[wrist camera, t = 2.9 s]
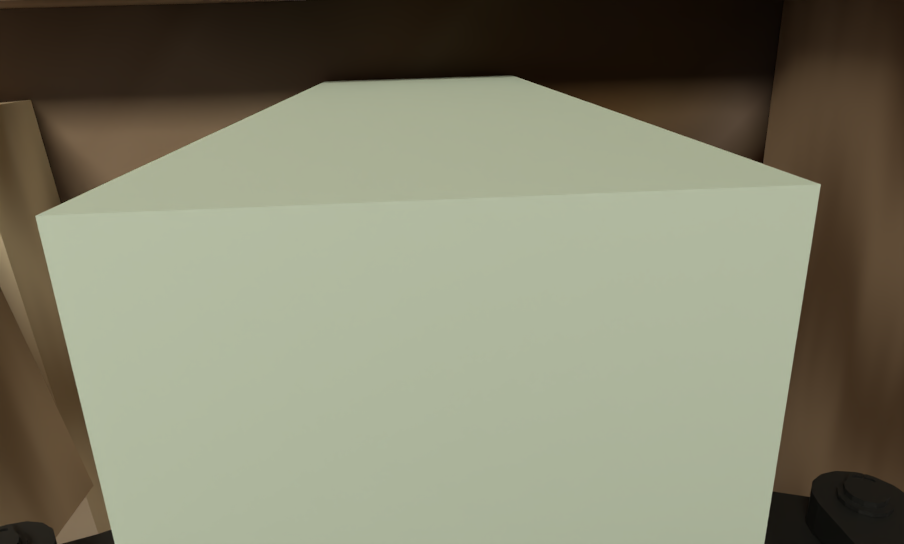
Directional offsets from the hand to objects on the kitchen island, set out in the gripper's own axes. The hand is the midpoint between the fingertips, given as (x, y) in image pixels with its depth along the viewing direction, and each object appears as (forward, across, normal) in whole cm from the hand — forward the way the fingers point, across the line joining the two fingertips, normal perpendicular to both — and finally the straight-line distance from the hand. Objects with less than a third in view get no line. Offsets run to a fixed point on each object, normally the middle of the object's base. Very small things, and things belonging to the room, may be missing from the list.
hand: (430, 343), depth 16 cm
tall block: (+2, 0, 0) cm, 2 cm away
